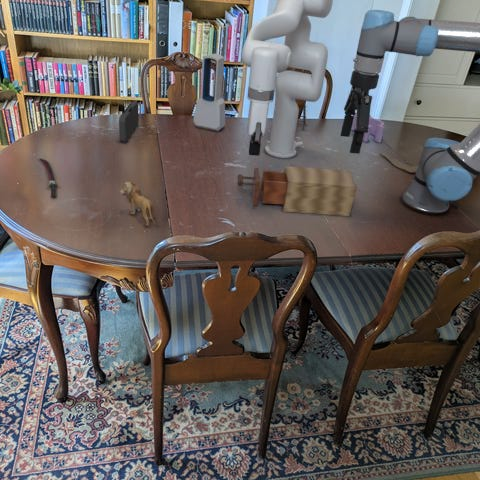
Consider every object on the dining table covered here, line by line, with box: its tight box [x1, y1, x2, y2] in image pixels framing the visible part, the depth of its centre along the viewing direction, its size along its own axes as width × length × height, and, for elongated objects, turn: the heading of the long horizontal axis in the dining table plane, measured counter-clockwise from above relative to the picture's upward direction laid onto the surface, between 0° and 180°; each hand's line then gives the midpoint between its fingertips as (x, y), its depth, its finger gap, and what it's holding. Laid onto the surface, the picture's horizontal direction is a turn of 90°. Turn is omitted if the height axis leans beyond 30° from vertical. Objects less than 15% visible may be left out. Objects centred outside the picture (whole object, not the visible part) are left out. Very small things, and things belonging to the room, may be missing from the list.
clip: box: [351, 111, 386, 143], centre depth 214 cm, size 20×12×7 cm, turn 11°
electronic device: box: [193, 53, 226, 132], centre depth 196 cm, size 12×8×30 cm, turn 71°
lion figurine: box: [119, 181, 159, 227], centre depth 134 cm, size 15×5×9 cm, turn 50°
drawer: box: [237, 167, 288, 206], centre depth 149 cm, size 25×10×8 cm, turn 91°
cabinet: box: [282, 165, 358, 217], centre depth 150 cm, size 21×11×10 cm, turn 91°
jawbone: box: [380, 152, 419, 174], centre depth 187 cm, size 9×20×2 cm, turn 50°
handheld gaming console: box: [118, 101, 139, 143], centre depth 187 cm, size 23×3×10 cm, turn 178°
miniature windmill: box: [294, 68, 309, 131], centre depth 208 cm, size 9×8×30 cm
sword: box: [40, 158, 59, 198], centre depth 151 cm, size 31×3×1 cm, turn 26°
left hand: (253, 154), depth 142 cm, fingers closed
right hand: (349, 144), depth 141 cm, fingers open, 13 cm apart
